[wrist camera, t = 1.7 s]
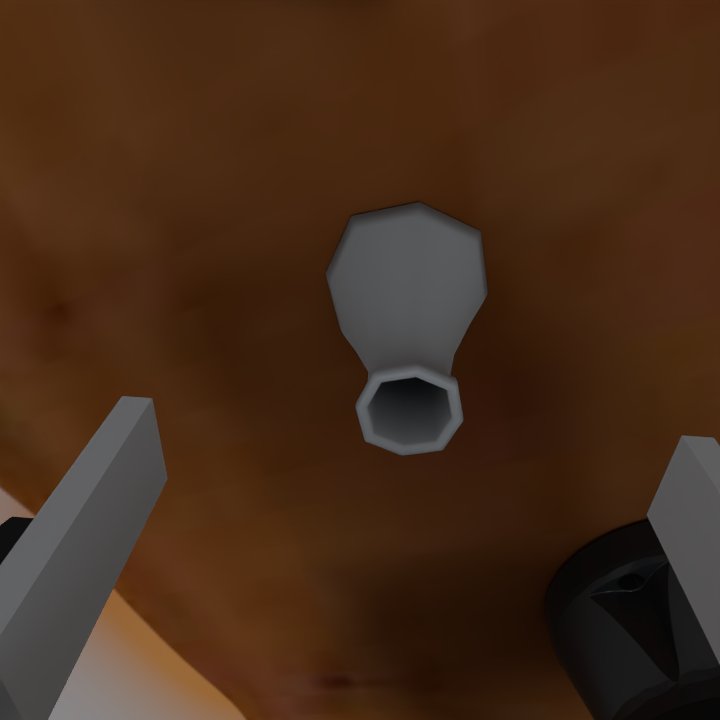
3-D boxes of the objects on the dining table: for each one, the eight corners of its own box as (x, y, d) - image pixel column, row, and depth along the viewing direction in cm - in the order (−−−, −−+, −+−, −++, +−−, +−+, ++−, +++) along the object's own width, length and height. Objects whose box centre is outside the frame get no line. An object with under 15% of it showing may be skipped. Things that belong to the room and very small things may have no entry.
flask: (320, 341, 27) (283, 490, 18) (332, 189, 23) (291, 287, 15) (470, 359, 27) (502, 516, 18) (506, 210, 23) (567, 320, 15)
